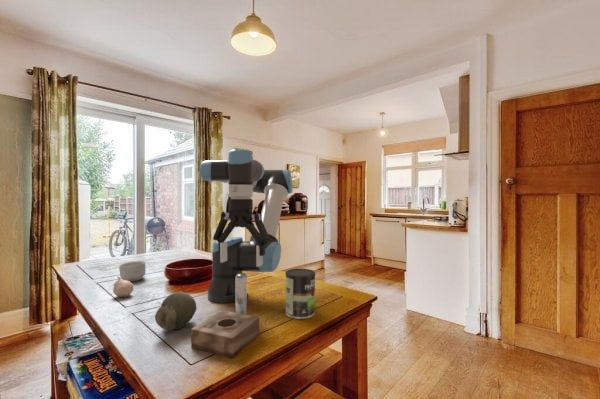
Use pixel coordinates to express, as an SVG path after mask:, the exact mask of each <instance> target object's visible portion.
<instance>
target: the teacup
mask: <svg viewBox="0 0 600 399" xmlns="http://www.w3.org/2000/svg"><path fill="white" fill-rule="evenodd" d="M118 268H119V277H120V278H121V279H122V280H128V281H131V282H135V280H136V281H139V280H141V279H142V278H143V277H144V276H145V275H146V261H143V260H137V261H129V262H124V263H122V264H119V265H118Z"/></svg>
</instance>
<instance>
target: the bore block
mask: <svg viewBox="0 0 600 399" xmlns="http://www.w3.org/2000/svg"><path fill="white" fill-rule="evenodd" d="M190 330H191V331H190V339H191V342H190V348H191V349H193V350H199V351H203V352H206V353H210V354H214V355H218V356H222V357H225V358H230V359H234V358H235V357H237V355H238V354H239V353H240V352H242V351H243V350H244V349H245V348H247V346H248V345H249V344H250V343H252V342H253V341H254V340H255V339H256V338H257V337H258V336H259V335H260V317H259V316H254V315H250V314H247V315H245V314H239V313H235V312H232V311H228V310H220V311H218V312H217V313H216V314H214V315H212V316H210V317H208V318H207V319H205V320H203V321H202V322H201V323H198V324H197V325H195V326H193V327H192V328H190Z"/></svg>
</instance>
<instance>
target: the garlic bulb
mask: <svg viewBox="0 0 600 399" xmlns="http://www.w3.org/2000/svg"><path fill="white" fill-rule="evenodd" d="M116 278H117V279H118V280H116V281H115V282H114V283H113V287H112V288H113V289H112V292H113V294H114V295H115V296H116V297H121V298H123V297H124V298H125V297H129V296H130V295H131V294H132V293H133V291H134V288H135V286H134V285H133V283H132V281H131V282H129V281H128V280H123V279H121V277H120V276H118V275H117V277H116Z"/></svg>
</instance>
